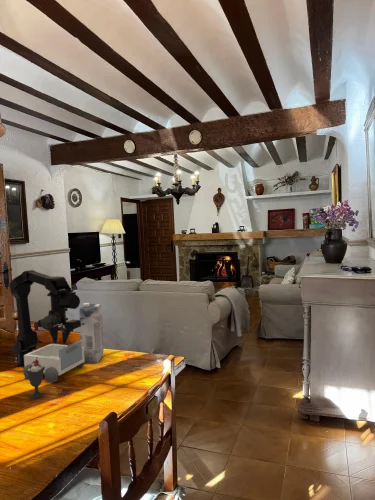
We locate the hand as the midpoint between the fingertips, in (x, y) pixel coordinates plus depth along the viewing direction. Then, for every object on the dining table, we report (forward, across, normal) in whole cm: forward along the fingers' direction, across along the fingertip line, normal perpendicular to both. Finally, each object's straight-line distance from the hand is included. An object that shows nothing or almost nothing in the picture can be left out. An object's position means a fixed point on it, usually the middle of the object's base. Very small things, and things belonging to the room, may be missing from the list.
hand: (59, 343), depth 152 cm
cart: (+13, -3, 0) cm, 13 cm away
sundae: (+13, +6, -20) cm, 25 cm away
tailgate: (+8, +6, 0) cm, 10 cm away
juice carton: (+13, +3, +18) cm, 23 cm away
